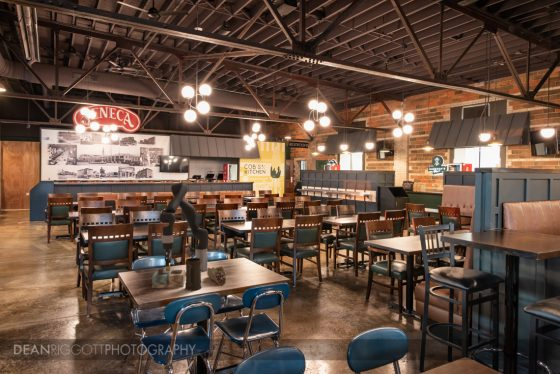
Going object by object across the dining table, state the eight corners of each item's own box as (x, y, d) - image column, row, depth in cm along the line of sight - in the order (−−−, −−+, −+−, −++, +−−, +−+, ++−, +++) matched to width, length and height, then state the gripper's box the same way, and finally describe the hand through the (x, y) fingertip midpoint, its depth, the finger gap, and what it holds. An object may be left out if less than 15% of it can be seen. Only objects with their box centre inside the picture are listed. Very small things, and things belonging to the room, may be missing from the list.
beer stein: (186, 285, 253) (186, 257, 251) (202, 285, 253) (202, 256, 252) (182, 294, 237) (182, 263, 235) (199, 293, 238) (199, 263, 236)
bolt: (170, 272, 257) (170, 262, 257) (169, 273, 254) (169, 263, 254) (157, 272, 256) (157, 263, 255) (157, 273, 253) (157, 264, 253)
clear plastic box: (185, 281, 264) (184, 265, 264) (183, 286, 250) (182, 270, 250) (155, 282, 261) (155, 267, 261) (152, 288, 247) (152, 271, 247)
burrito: (215, 286, 251) (215, 272, 251) (204, 277, 275) (204, 264, 275) (229, 284, 256) (229, 270, 255) (216, 275, 279) (216, 262, 279)
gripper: (172, 243, 248) (172, 267, 249) (174, 239, 262) (175, 262, 263) (160, 243, 247) (161, 267, 248) (163, 240, 261) (164, 262, 262)
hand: (168, 264), depth 255 cm, fingers open, 8 cm apart
